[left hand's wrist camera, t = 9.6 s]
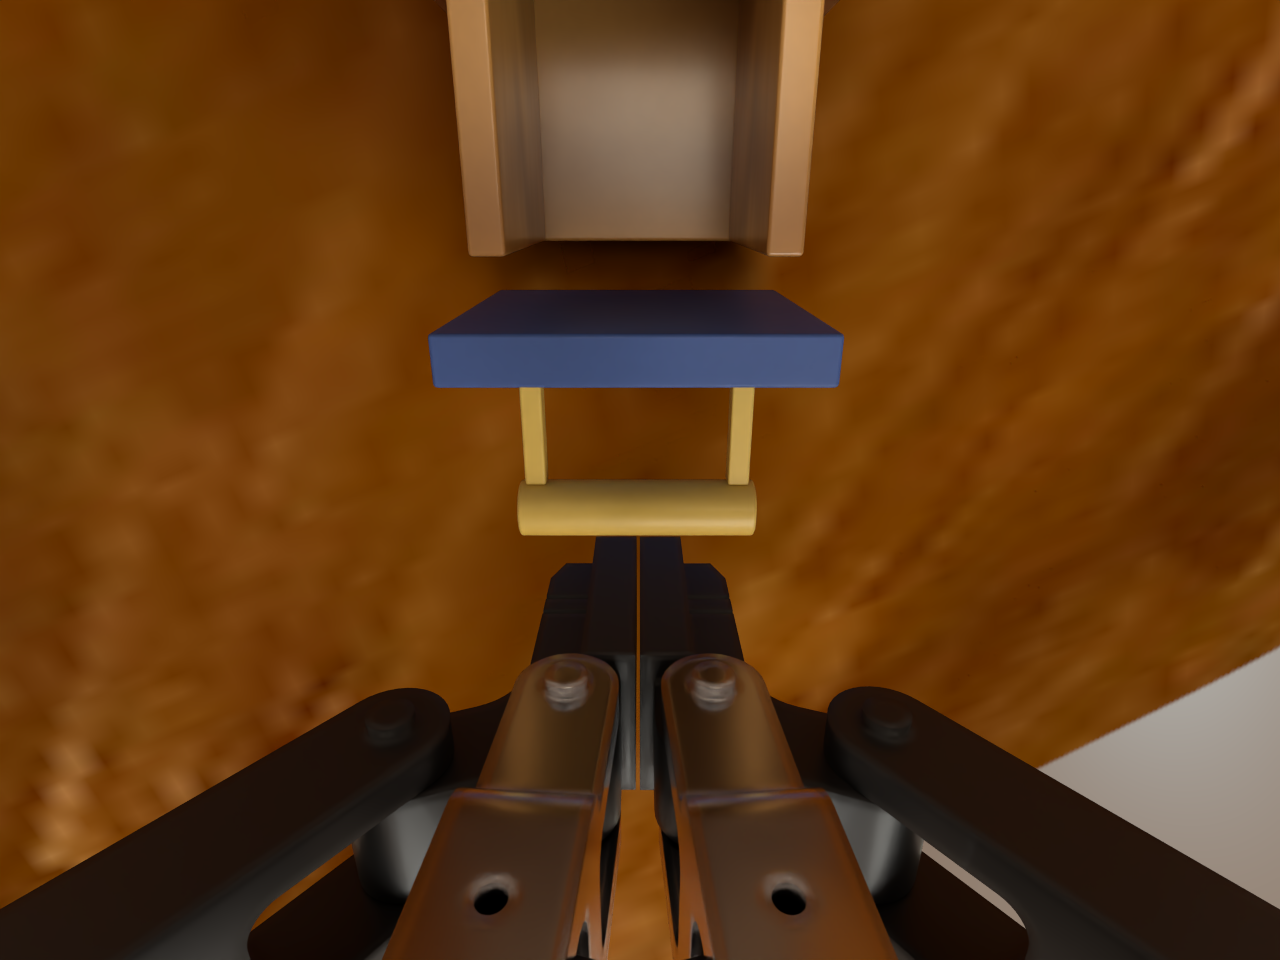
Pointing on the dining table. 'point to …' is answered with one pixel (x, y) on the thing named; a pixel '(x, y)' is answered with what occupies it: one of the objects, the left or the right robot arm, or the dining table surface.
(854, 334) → the dining table surface
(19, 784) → the dining table surface
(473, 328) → the drawer
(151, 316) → the dining table surface
